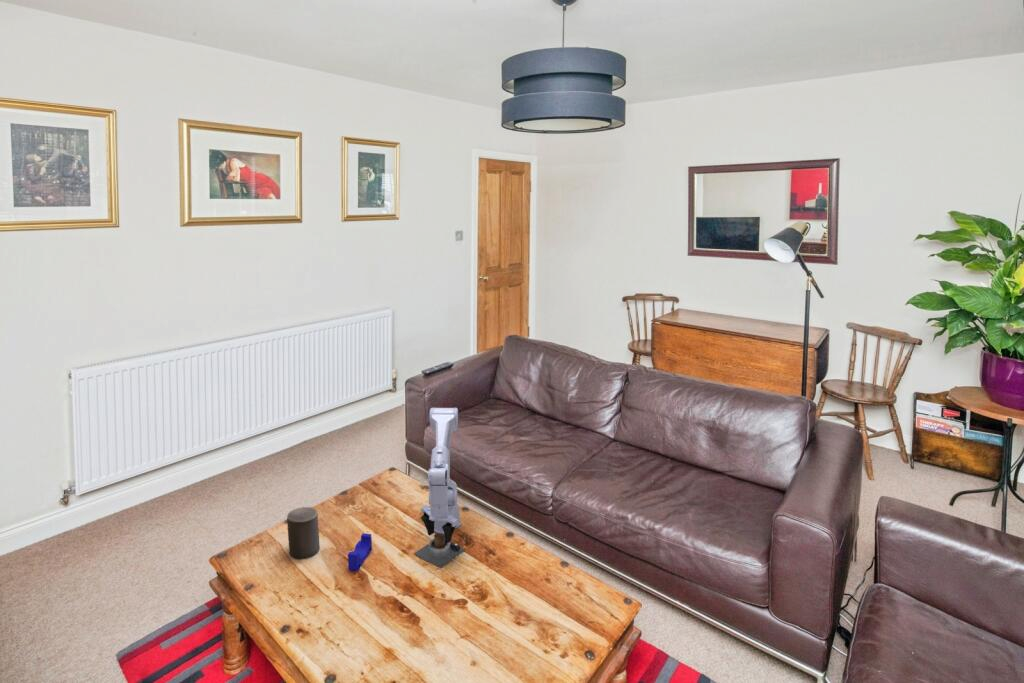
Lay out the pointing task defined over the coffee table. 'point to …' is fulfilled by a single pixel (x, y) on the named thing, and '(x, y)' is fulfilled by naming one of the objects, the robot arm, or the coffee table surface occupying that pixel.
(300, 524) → the pillar candle
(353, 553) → the cable clip
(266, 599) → the coffee table surface
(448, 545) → the cup bracket
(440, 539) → the dowel
